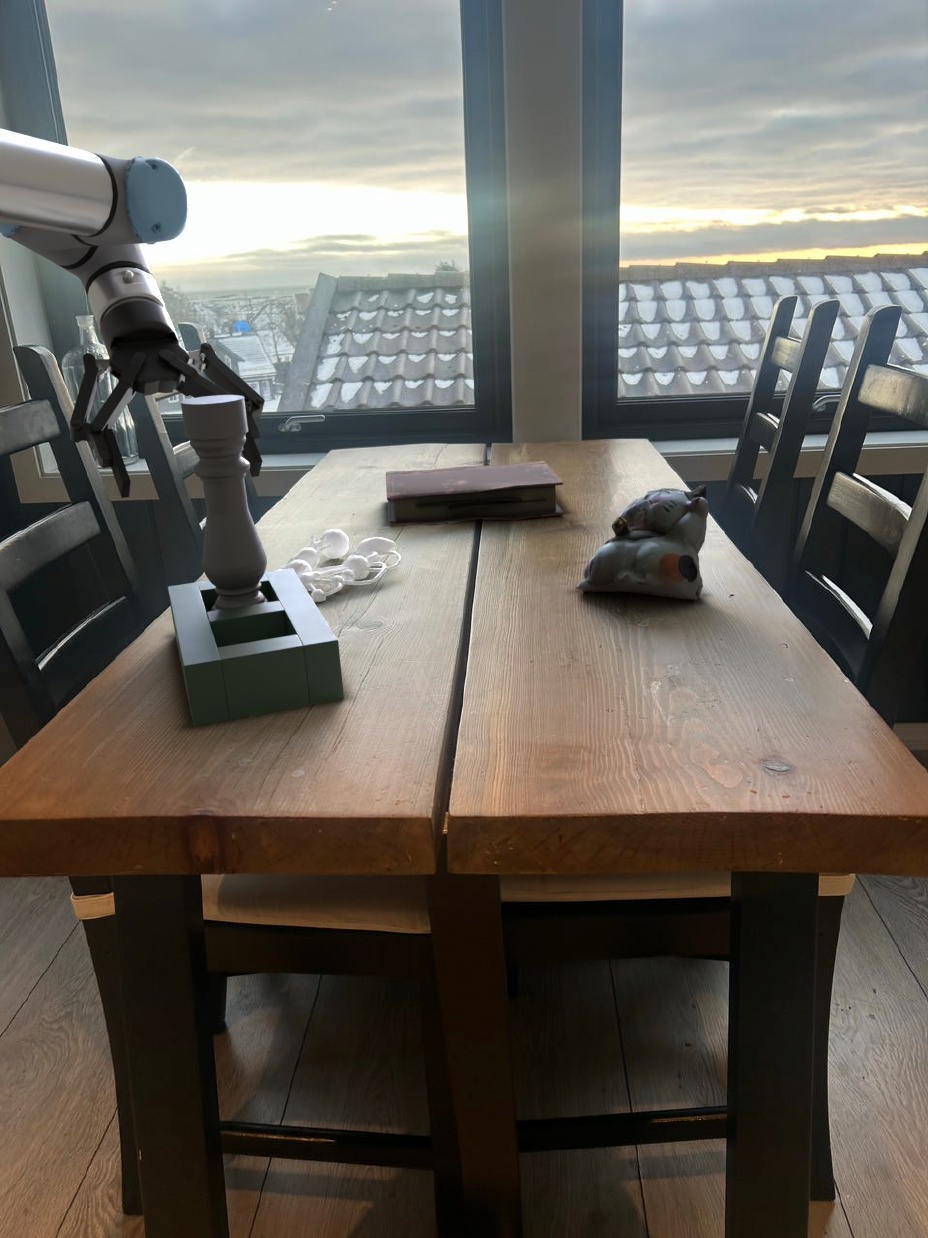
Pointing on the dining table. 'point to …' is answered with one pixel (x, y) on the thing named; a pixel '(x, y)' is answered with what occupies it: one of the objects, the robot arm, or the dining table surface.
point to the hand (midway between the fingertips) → (193, 479)
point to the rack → (254, 650)
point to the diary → (472, 493)
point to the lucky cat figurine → (653, 547)
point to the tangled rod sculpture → (351, 568)
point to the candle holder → (225, 499)
